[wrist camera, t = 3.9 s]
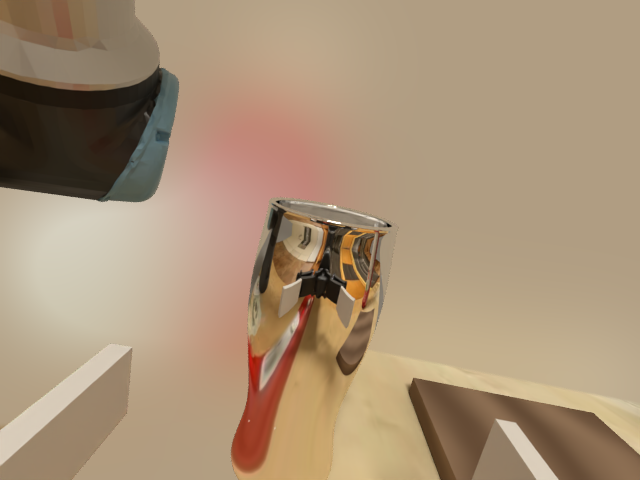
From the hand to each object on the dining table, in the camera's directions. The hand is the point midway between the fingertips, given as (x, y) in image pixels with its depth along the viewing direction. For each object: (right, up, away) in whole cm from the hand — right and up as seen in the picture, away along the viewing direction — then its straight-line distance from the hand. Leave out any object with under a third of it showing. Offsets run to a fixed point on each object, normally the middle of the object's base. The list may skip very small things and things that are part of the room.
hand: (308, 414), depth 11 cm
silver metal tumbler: (-2, -7, +8) cm, 11 cm away
